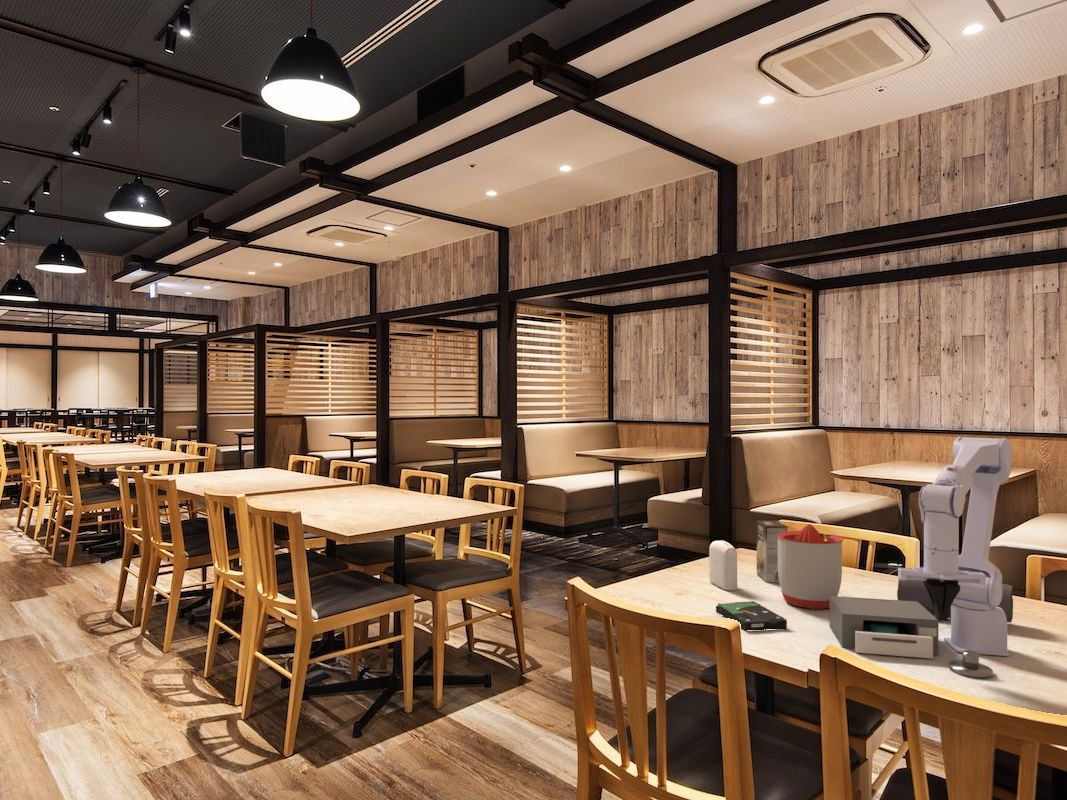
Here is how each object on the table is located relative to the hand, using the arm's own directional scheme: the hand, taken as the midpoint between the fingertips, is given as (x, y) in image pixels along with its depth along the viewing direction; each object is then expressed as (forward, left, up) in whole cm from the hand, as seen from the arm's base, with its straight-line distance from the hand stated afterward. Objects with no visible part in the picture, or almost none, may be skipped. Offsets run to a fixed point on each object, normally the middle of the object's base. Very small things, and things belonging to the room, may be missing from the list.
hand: (940, 619), depth 132 cm
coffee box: (+24, -64, -10) cm, 69 cm away
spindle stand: (-5, 0, -9) cm, 11 cm away
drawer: (+7, -13, -9) cm, 17 cm away
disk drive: (+33, -22, -10) cm, 41 cm away
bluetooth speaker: (-14, -36, -10) cm, 40 cm away
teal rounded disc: (+7, -13, -8) cm, 17 cm away
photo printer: (+38, -52, -10) cm, 65 cm away
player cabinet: (+7, -15, -9) cm, 19 cm away
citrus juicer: (+17, -41, -10) cm, 45 cm away
